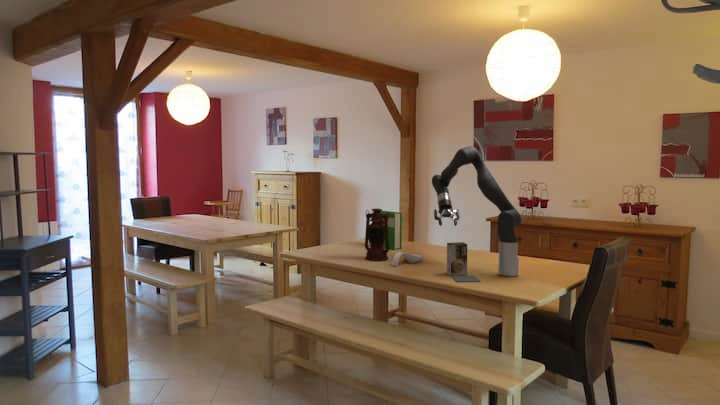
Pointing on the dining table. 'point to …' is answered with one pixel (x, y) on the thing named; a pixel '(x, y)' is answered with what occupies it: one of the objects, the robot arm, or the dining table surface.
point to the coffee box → (457, 258)
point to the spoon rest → (409, 257)
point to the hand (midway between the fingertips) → (448, 225)
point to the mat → (465, 278)
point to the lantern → (377, 236)
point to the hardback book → (394, 230)
